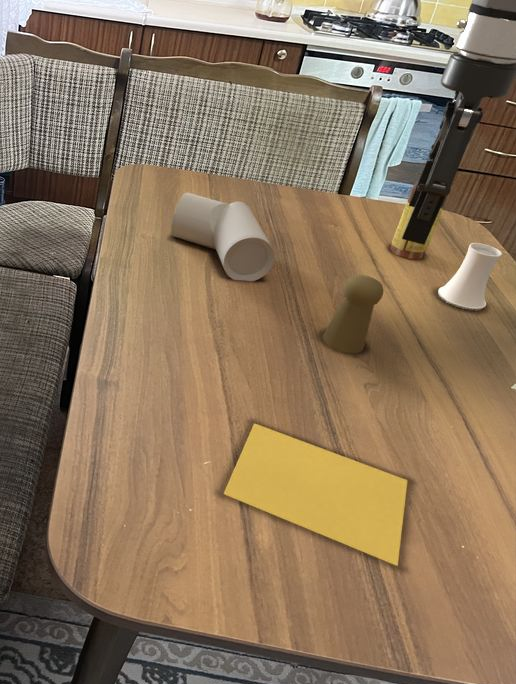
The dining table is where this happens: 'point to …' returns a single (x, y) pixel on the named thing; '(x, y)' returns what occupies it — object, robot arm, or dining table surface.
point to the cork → (353, 314)
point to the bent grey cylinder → (225, 234)
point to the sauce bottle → (398, 244)
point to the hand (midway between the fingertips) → (416, 223)
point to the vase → (471, 278)
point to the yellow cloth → (321, 492)
